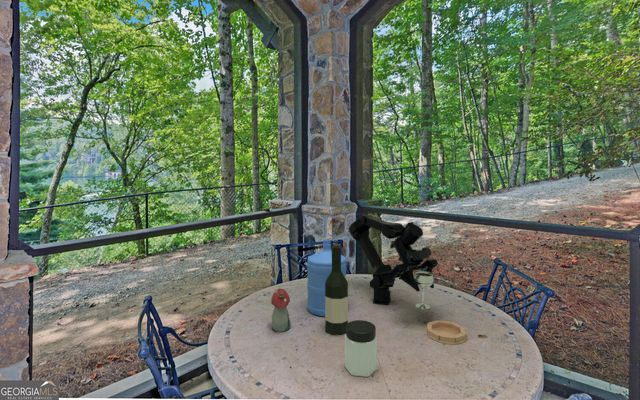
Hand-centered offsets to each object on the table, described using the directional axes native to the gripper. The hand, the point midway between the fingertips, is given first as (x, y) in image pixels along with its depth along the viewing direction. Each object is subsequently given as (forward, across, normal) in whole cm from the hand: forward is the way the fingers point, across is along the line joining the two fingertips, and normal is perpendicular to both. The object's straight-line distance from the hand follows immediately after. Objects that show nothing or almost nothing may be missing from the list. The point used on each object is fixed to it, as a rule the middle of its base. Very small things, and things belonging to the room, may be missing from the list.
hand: (426, 289), depth 115 cm
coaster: (+15, +1, +3) cm, 15 cm away
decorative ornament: (-6, -46, +25) cm, 53 cm away
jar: (+17, -35, +1) cm, 39 cm away
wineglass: (+4, 0, +6) cm, 7 cm away
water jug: (-10, -24, +30) cm, 40 cm away
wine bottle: (+1, -30, +18) cm, 35 cm away
